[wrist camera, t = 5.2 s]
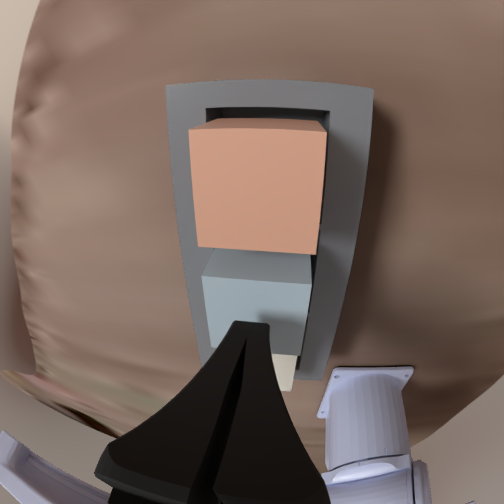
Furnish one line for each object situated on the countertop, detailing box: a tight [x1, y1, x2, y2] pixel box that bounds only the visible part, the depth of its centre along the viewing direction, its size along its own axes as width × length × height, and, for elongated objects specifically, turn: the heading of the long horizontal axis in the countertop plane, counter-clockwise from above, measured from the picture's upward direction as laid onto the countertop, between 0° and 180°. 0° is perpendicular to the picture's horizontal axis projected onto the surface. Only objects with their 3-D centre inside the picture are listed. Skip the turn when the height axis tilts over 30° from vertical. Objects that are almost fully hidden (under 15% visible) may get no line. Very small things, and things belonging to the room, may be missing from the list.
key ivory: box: [272, 354, 297, 391], centre depth 18 cm, size 4×4×4 cm
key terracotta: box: [189, 118, 327, 255], centre depth 11 cm, size 4×4×4 cm
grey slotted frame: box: [166, 79, 374, 381], centre depth 17 cm, size 19×9×3 cm, turn 1°
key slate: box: [202, 248, 312, 356], centre depth 14 cm, size 4×4×4 cm
